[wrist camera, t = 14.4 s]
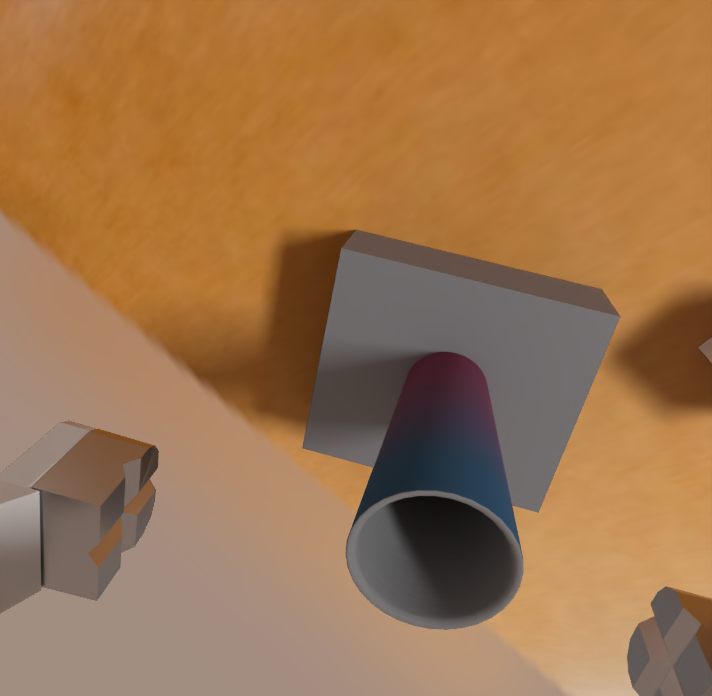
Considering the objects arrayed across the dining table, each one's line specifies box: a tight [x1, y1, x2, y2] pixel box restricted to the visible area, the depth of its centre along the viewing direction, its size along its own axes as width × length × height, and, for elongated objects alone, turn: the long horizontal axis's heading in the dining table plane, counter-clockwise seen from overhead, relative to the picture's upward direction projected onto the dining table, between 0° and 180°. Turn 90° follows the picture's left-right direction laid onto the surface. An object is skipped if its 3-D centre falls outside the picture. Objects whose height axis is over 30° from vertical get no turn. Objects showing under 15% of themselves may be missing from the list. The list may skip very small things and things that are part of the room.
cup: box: [346, 352, 523, 630], centre depth 30 cm, size 7×7×15 cm
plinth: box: [302, 230, 620, 512], centre depth 39 cm, size 16×14×5 cm
